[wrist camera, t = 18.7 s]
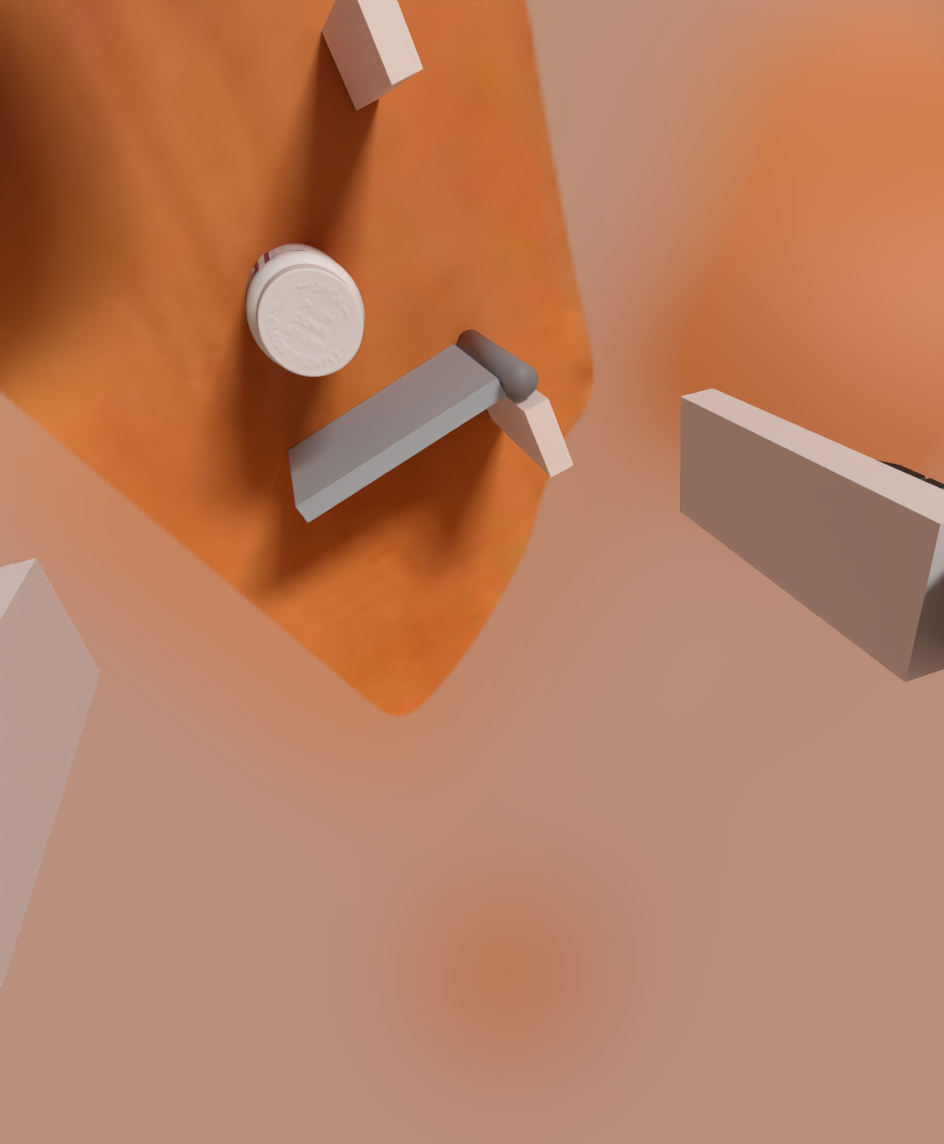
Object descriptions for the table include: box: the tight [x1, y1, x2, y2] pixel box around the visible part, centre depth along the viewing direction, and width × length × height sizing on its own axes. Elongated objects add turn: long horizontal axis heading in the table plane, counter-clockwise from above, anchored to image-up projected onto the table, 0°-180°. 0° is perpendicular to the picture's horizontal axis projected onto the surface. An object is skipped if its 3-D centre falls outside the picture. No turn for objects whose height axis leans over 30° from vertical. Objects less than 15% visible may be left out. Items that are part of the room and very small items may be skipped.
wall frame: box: [322, 0, 573, 477], centre depth 39 cm, size 24×2×12 cm, turn 24°
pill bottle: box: [246, 243, 365, 377], centre depth 39 cm, size 6×6×11 cm
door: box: [288, 330, 538, 523], centre depth 43 cm, size 15×3×11 cm, turn 119°
